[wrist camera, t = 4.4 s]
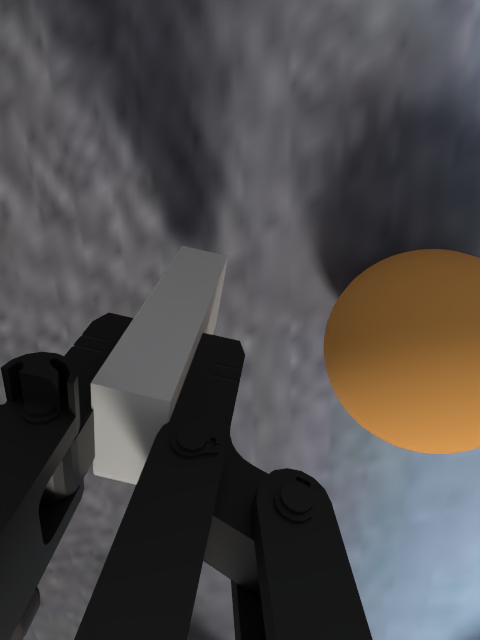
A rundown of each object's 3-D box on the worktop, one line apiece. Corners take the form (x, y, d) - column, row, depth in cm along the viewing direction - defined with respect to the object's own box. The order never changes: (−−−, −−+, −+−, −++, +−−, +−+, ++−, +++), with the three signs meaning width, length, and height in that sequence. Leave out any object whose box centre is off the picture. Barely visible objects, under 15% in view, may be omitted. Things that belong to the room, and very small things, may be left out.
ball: (502, 529, 11) (472, 386, 16) (655, 364, 8) (558, 244, 13) (289, 455, 12) (320, 343, 17) (340, 283, 9) (361, 202, 14)
